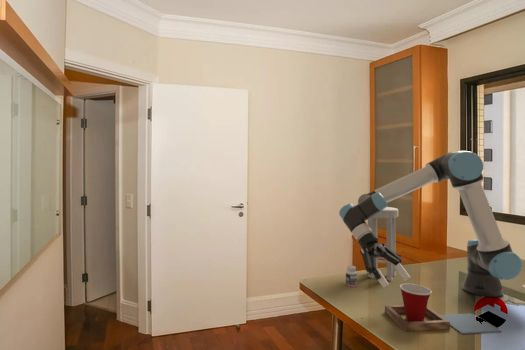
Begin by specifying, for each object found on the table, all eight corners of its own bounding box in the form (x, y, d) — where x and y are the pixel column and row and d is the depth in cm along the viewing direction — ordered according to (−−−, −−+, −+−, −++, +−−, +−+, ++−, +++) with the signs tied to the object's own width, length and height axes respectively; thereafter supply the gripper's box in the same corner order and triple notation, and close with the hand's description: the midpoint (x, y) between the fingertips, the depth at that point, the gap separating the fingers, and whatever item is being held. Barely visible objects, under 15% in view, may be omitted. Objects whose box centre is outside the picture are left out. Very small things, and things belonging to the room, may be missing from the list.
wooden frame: (424, 310, 136) (424, 303, 136) (450, 328, 120) (450, 321, 120) (384, 312, 135) (384, 305, 135) (405, 331, 119) (405, 324, 119)
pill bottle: (344, 283, 169) (344, 265, 169) (354, 283, 169) (354, 264, 169) (348, 287, 164) (347, 268, 163) (358, 286, 164) (358, 267, 164)
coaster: (472, 314, 131) (472, 313, 131) (501, 331, 118) (501, 330, 117) (437, 316, 130) (437, 315, 130) (461, 334, 116) (461, 332, 116)
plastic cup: (435, 328, 121) (435, 293, 121) (402, 325, 123) (402, 291, 123) (427, 315, 132) (427, 283, 131) (397, 313, 134) (397, 281, 134)
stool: (370, 270, 190) (370, 206, 189) (400, 274, 182) (400, 207, 181) (362, 278, 176) (362, 209, 176) (395, 283, 168) (394, 210, 168)
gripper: (378, 238, 154) (410, 281, 142) (339, 246, 140) (370, 294, 128) (389, 228, 149) (422, 271, 137) (349, 235, 135) (382, 283, 123)
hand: (397, 282), depth 132 cm, fingers open, 13 cm apart
